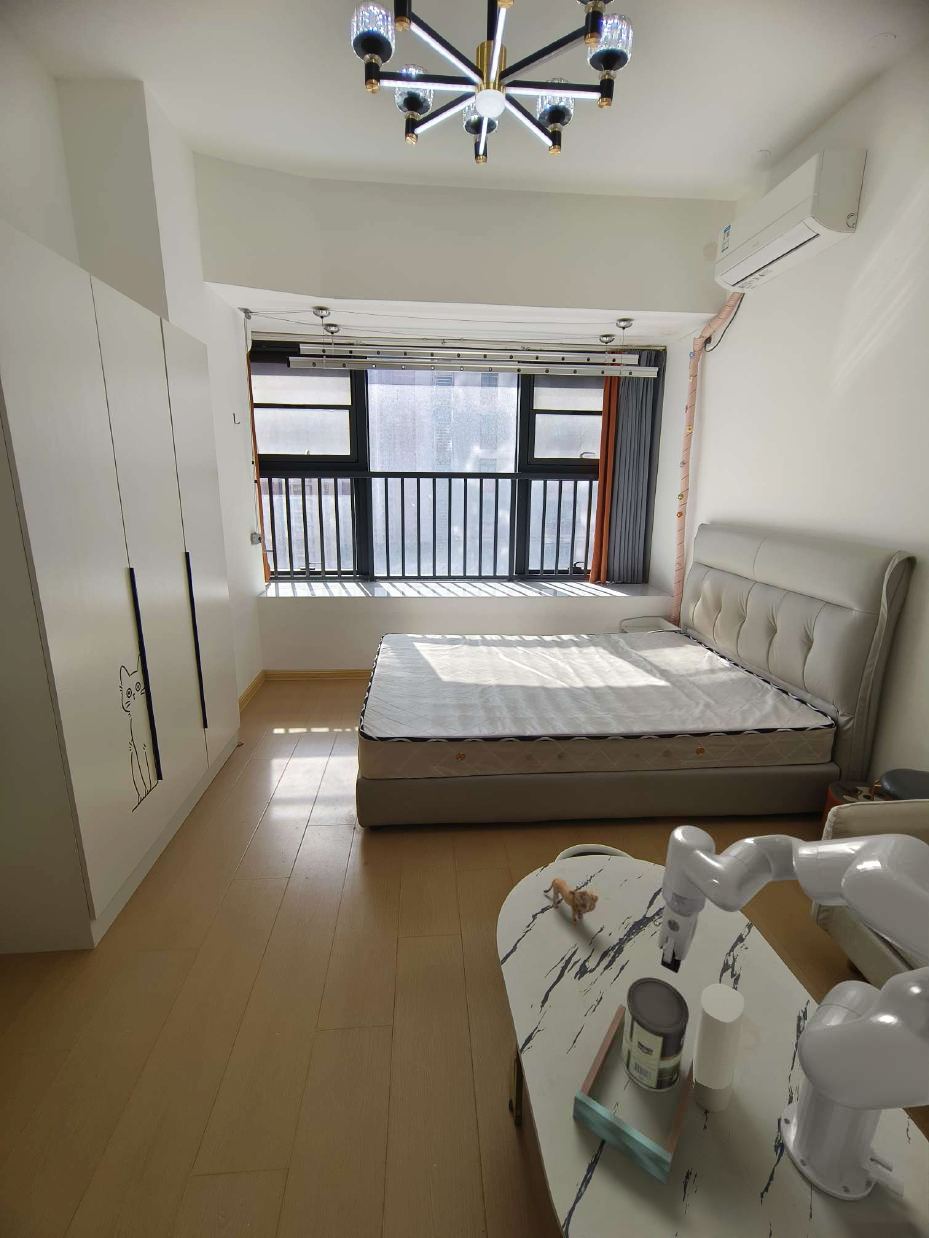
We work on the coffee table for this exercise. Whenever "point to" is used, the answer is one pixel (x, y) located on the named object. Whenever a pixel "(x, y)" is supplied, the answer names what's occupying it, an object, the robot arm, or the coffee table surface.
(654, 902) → the coffee table surface
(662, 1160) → the bay
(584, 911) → the lion figurine
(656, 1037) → the coffee can
